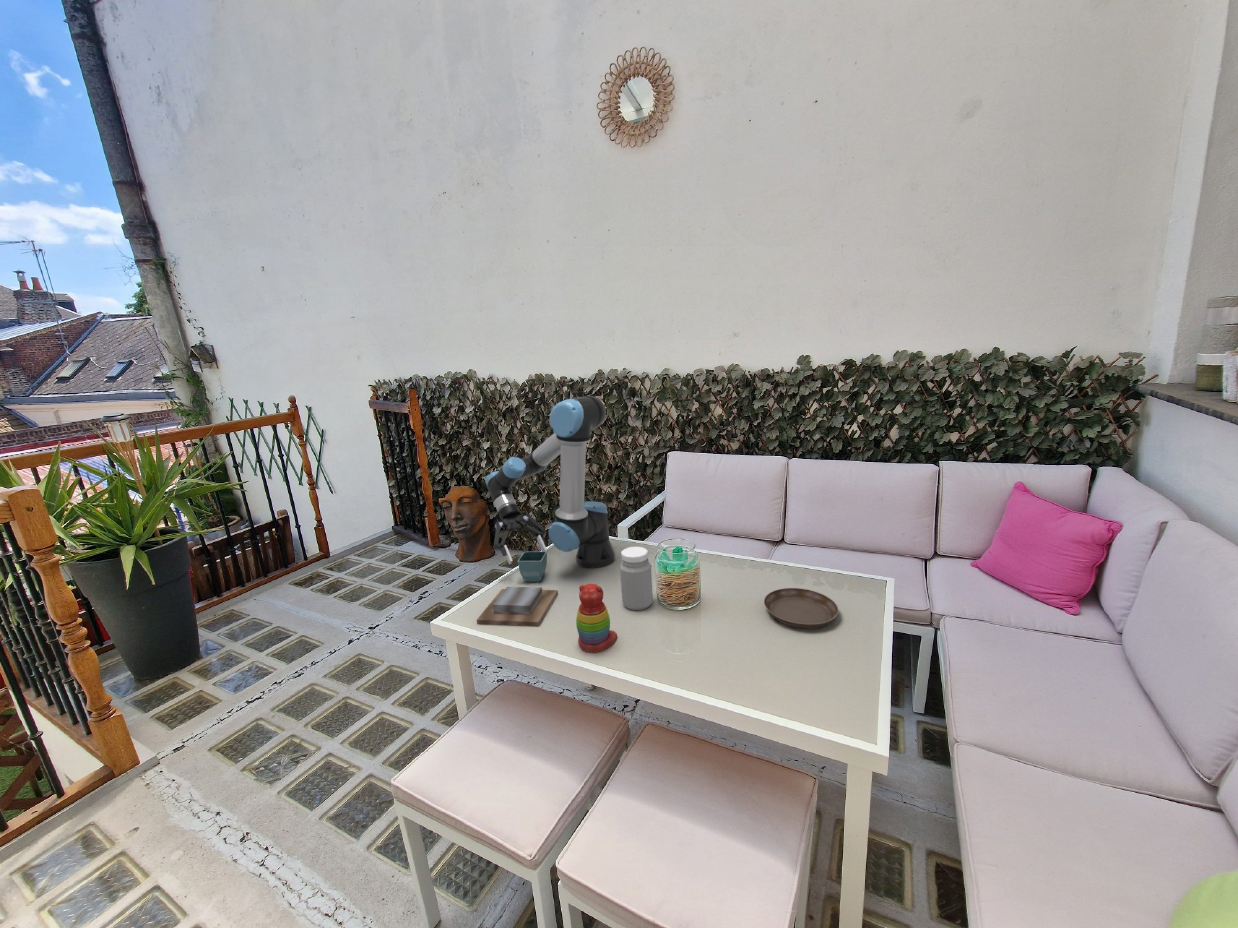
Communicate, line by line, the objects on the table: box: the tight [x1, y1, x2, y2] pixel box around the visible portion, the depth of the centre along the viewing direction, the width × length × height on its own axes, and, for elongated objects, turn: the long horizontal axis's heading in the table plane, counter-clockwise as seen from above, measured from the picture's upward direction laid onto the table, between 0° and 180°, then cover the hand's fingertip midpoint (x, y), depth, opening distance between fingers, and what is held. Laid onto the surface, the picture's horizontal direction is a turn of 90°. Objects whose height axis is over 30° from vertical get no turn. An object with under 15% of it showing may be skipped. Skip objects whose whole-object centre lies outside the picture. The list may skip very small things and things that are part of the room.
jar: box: [619, 546, 654, 611], centre depth 159 cm, size 10×10×18 cm
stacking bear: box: [575, 583, 618, 653], centre depth 140 cm, size 11×10×18 cm
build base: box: [476, 586, 559, 627], centre depth 163 cm, size 20×20×4 cm
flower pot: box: [517, 550, 548, 583], centre depth 183 cm, size 9×9×9 cm
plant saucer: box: [763, 587, 839, 630], centre depth 149 cm, size 21×21×3 cm
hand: (528, 557), depth 184 cm, fingers open, 13 cm apart
